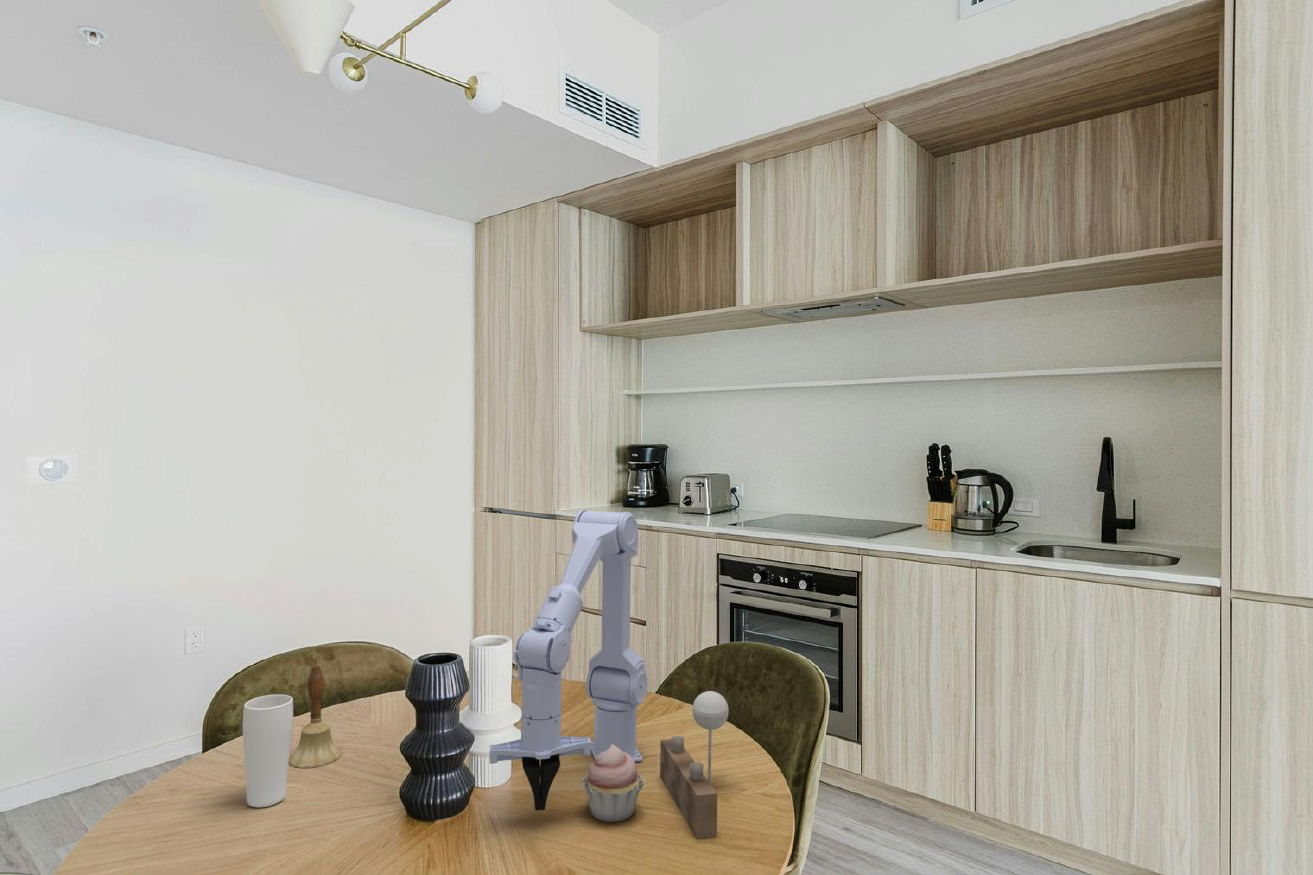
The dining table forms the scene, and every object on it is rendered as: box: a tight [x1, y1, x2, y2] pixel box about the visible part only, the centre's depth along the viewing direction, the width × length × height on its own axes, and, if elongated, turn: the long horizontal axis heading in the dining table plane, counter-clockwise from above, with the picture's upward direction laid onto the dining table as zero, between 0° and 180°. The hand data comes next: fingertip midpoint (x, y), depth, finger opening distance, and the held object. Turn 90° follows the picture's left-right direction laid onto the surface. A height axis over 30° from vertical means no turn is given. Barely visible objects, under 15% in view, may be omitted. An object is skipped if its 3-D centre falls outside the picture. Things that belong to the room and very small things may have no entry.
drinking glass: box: [242, 693, 294, 808], centre depth 111 cm, size 7×7×15 cm
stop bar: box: [659, 735, 718, 840], centre depth 112 cm, size 20×3×8 cm, turn 14°
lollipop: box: [691, 690, 730, 785], centre depth 118 cm, size 6×6×15 cm
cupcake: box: [581, 744, 645, 823], centre depth 109 cm, size 9×9×10 cm
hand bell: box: [288, 664, 342, 769], centre depth 126 cm, size 8×8×16 cm
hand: (539, 807), depth 106 cm, fingers closed
